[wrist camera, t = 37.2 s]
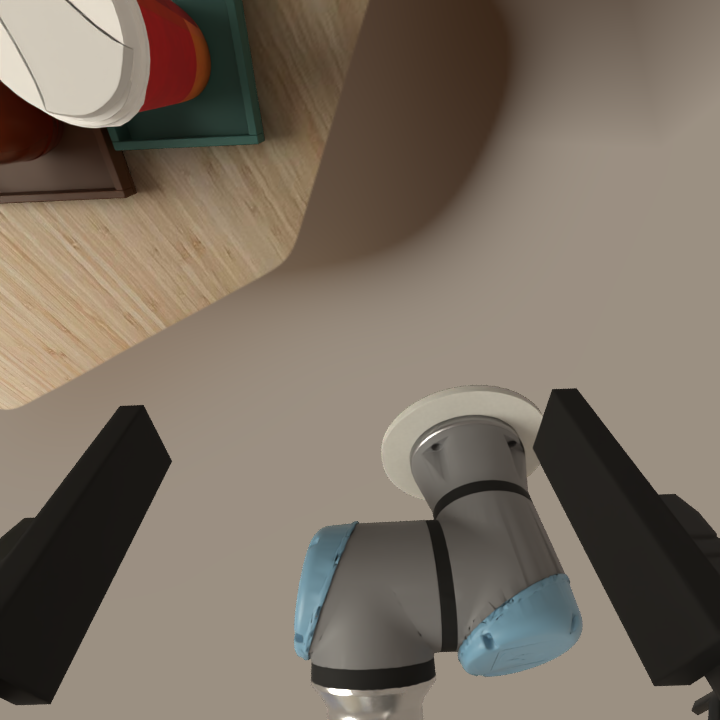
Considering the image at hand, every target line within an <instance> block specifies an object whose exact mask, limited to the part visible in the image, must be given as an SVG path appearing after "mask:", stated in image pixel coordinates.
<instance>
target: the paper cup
mask: <svg viewBox="0 0 720 720" xmlns="http://www.w3.org/2000/svg"><path fill="white" fill-rule="evenodd" d="M210 72H211V58H210V52H209V48H208V45H207V42H206V40H205V37H204V35H203V33H202V32H201V30H200V28H199V27H198V25H197V24H196V23H195V21H194V20H193V19H192V18H191V17H190V16H189V15H188V14H187V13H186V12H185V11H184V10H183V9H181V8H180V7H179V6H178V5H176V4H175V3H174V2H172V1H171V0H0V80H1V81H2V82H3V83H4V84H5V85H6V86H8V87H9V88H10V89H11V90H12V91H13V92H15V93H16V94H17V95H19V96H20V97H21V98H23V99H24V100H26V101H27V102H28V103H30V104H32V105H34V106H36V107H37V108H39V109H41V110H42V111H44V112H46V113H47V114H49V115H51V116H53V117H55V118H56V119H59V120H61V121H64V122H66V123H69V124H72V125H76V126H80V127H87V128H101V127H113V126H121V125H123V124H125V123H126V122H128V121H130V120H131V119H132V118H133V117H134V116H135V115H136V114H137V113H138V112H142V111H147V110H151V109H156V108H160V107H165V106H169V105H173V104H177V103H181V102H185V101H188V100H191V99H193V98H195V97H197V96H198V95H199V94H200V93H201V92H202V91H203V90H204V89H205V87H206V85H207V83H208V81H209V77H210Z"/></svg>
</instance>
